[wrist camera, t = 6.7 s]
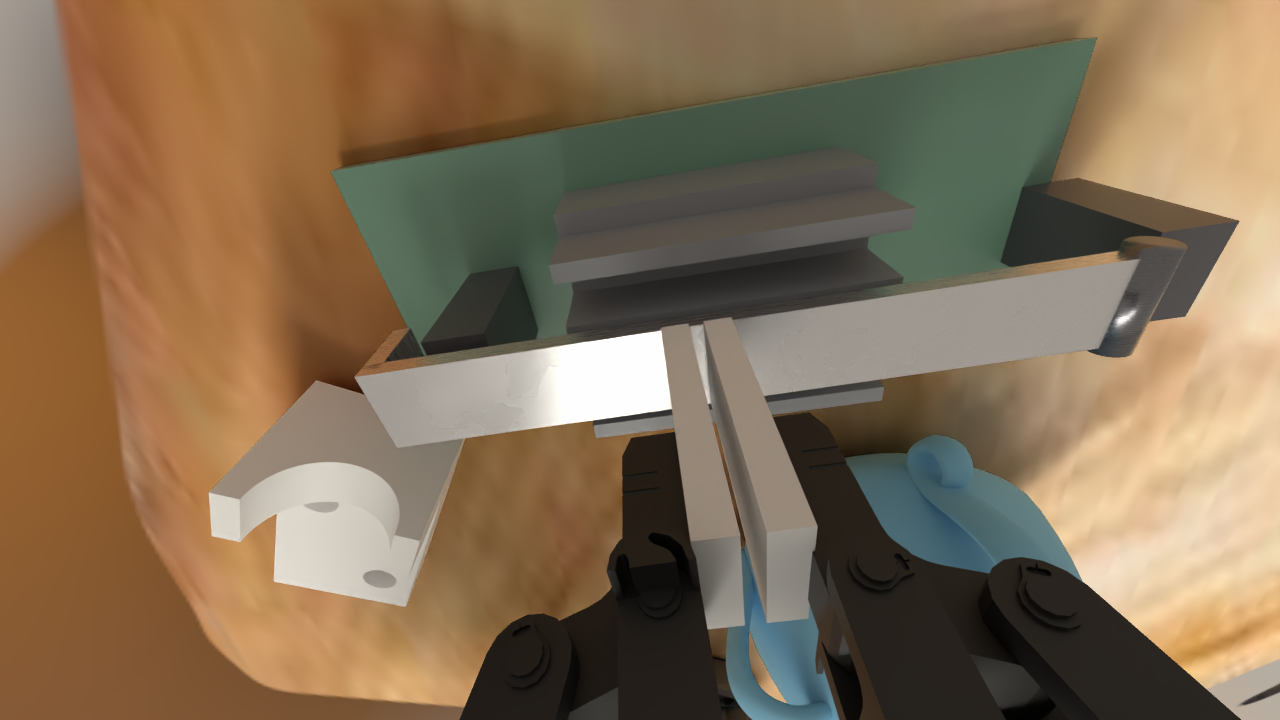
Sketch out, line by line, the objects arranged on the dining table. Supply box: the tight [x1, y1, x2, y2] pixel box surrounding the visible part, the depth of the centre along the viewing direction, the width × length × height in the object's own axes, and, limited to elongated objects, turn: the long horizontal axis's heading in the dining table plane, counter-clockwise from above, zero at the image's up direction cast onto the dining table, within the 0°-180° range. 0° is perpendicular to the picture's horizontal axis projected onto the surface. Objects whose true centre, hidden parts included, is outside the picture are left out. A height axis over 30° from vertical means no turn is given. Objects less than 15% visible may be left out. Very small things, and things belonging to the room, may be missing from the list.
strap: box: [355, 236, 1188, 448], centre depth 14 cm, size 3×23×3 cm, turn 99°
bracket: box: [209, 380, 465, 607], centre depth 23 cm, size 13×7×8 cm, turn 155°
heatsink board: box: [330, 38, 1239, 438], centre depth 17 cm, size 12×27×6 cm, turn 99°
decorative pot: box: [726, 435, 1082, 720], centre depth 23 cm, size 16×16×14 cm
